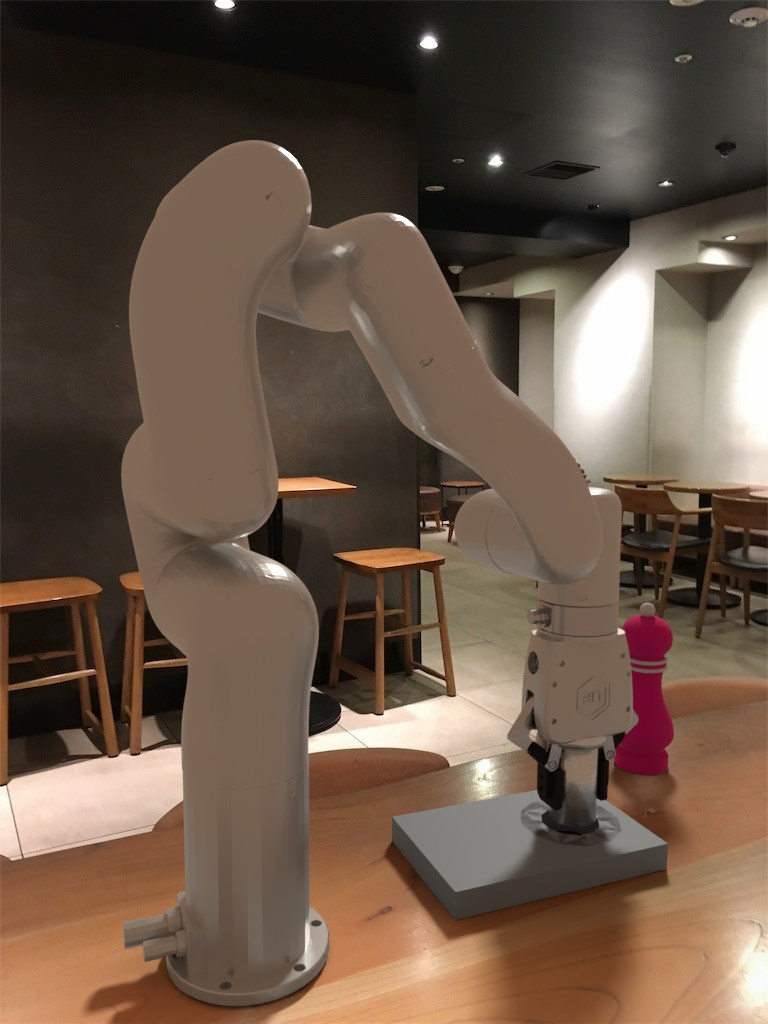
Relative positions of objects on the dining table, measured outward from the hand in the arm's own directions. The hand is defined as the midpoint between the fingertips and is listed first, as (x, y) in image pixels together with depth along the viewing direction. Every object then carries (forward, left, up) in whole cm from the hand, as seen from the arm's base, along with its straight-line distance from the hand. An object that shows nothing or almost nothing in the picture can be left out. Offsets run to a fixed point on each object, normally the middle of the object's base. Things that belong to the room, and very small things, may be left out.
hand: (572, 797), depth 82 cm
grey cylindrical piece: (0, 0, -2) cm, 2 cm away
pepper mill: (+19, +13, -5) cm, 23 cm away
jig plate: (-5, 0, -5) cm, 7 cm away
